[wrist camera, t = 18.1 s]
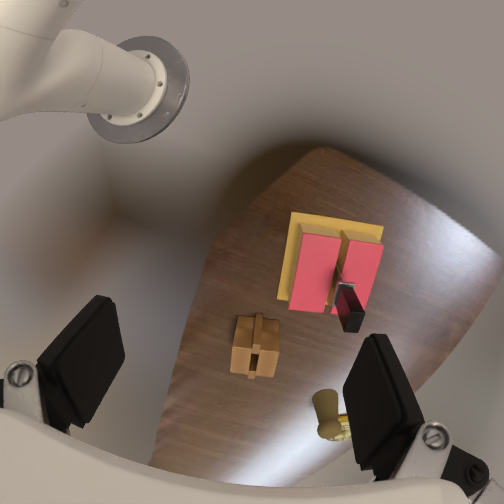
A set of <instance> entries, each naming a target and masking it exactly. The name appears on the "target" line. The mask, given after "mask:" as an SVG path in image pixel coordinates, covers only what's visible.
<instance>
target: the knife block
mask: <svg viewBox="0 0 504 504" xmlns="http://www.w3.org/2000/svg"><path fill="white" fill-rule="evenodd" d="M278 356H279V320H271V319H263V314H260V313H256V316H255V317H247V316H240V315H239V316H238V320H237V325H236V331H235V336H234V341H233V346H232V356H231V367H230V372H232V373H240V374H247V375H248V379H255V375H256V376H265V377H273V376H274V372H275V368H276V364H277V360H278Z"/></svg>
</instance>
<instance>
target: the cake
mask: <svg viewBox="0 0 504 504" xmlns="http://www.w3.org/2000/svg"><path fill="white" fill-rule="evenodd" d="M382 231H383V226H379V225H374V224H368V223H363V222H357V221H351V220H345V219H339V218H332V217H326V216H320V215H313V214H306V213H299V212H292V211H291V217H290V223H289V230H288V236H287V242H286V248H285V254H284V260H283V266H282V272H281V277H280V283H279V289H278V294H277V299H279V300H288V308H289V309H290V310H300V311H309V312H319V313H323V311H324V308H325V305H328V306H329V310H330V313H331V314H338V312H337V309H336V307H333V306H332V305H331V303H332V300H333V296H334V293H335V291H334V288H333V286H332V283H331V282H332V278H333V274H334V270H335V266H336V263H337V265H338V267H339V269H340V271H341V273H342V275H343V277H344V279H345V281H346V282H353V283H355V284H356V285H355V288H354V291H355V293H356V295H357V297H358V299H359V301H360V303H361V305H362V307H363V309H365V306H366V303H367V301H368V298H369V295H370V292H371V289H372V285H373V282H374V279H375V276H376V273H377V269H378V266H379V263H380V259H381V256H382V252H383V248H384V245H383V244H382V243H381V242H380V239H381V235H382Z"/></svg>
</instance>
